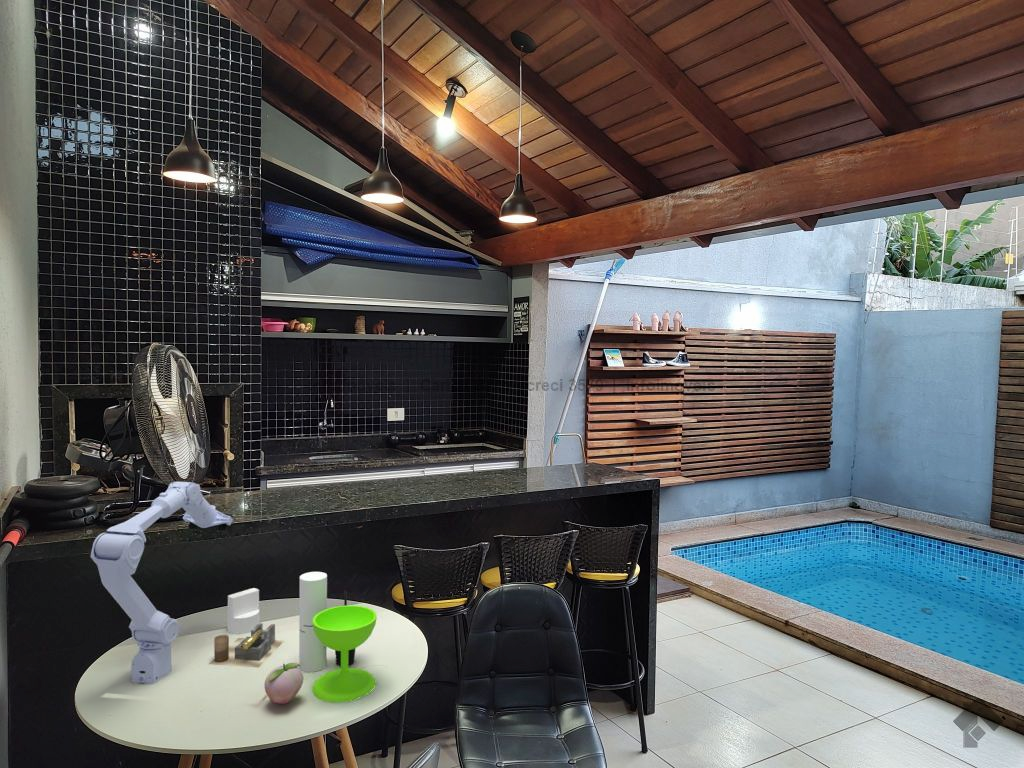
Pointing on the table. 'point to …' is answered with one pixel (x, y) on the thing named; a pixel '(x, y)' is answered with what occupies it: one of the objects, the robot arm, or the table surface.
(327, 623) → the wineglass
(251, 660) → the dock
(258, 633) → the pin
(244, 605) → the base with upright slab
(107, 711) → the table surface
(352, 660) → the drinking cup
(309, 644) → the cylindrical container
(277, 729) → the table surface
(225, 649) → the peg
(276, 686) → the decorative fruit
